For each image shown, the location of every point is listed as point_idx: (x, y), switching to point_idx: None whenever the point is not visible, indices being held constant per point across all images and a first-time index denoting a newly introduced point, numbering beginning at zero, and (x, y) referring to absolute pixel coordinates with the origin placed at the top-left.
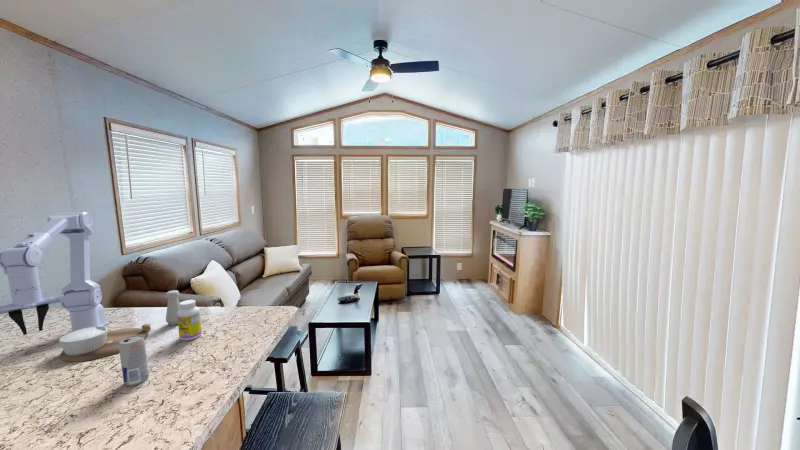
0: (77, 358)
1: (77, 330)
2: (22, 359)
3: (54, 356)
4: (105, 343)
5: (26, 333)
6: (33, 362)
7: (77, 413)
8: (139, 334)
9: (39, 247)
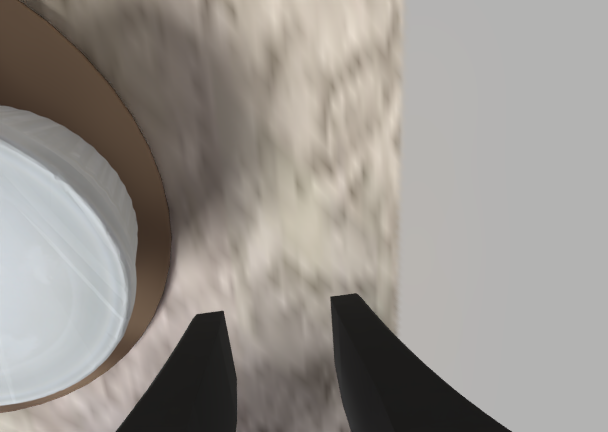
0: (42, 63)
1: (33, 392)
2: None
3: (201, 245)
4: None
5: (335, 302)
6: (293, 236)
7: None
8: None
9: None
